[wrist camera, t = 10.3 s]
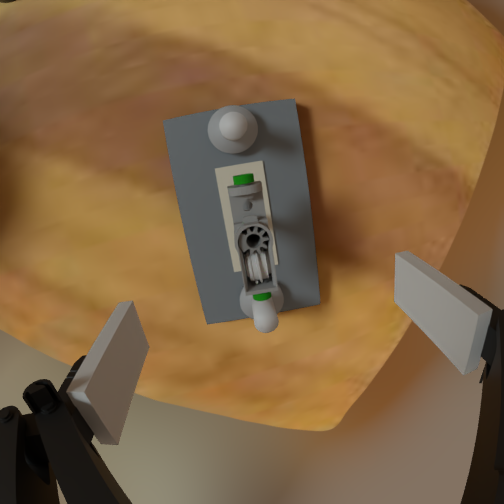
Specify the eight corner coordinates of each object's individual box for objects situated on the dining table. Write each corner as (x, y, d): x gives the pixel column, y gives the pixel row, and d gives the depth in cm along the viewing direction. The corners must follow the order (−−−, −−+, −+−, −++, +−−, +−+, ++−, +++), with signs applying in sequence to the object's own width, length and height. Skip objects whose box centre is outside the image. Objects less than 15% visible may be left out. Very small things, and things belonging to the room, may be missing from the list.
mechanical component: (253, 167, 32) (263, 172, 23) (267, 259, 35) (281, 298, 26) (225, 171, 32) (223, 179, 23) (241, 263, 35) (245, 305, 26)
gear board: (166, 122, 32) (149, 114, 24) (291, 101, 32) (308, 88, 25) (207, 316, 40) (204, 353, 32) (316, 296, 40) (334, 329, 32)
